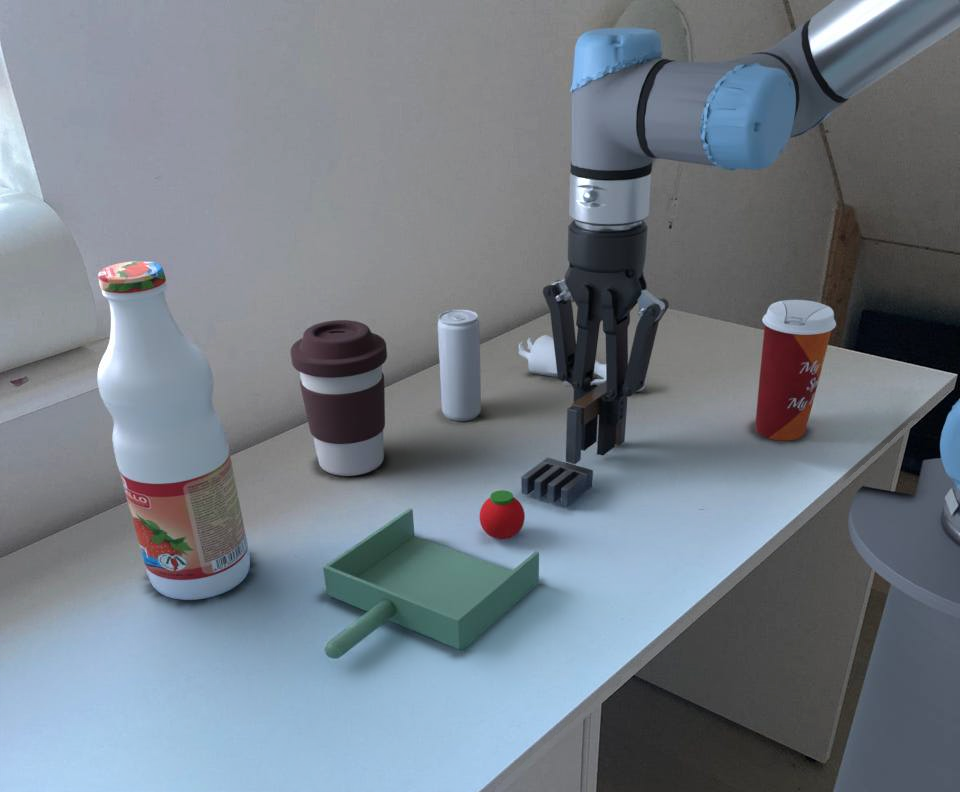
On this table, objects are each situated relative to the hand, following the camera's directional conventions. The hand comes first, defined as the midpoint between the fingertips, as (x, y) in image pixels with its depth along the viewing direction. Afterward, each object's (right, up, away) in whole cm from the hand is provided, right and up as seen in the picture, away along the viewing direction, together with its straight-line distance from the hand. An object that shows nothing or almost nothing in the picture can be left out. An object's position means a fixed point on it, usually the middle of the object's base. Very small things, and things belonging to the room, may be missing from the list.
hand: (596, 447), depth 107 cm
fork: (-2, -2, -1) cm, 3 cm away
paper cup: (+22, +3, +7) cm, 23 cm away
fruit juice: (-39, -15, -15) cm, 44 cm away
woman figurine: (0, +13, +20) cm, 24 cm away
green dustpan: (-19, -19, -20) cm, 34 cm away
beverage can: (-15, +6, +12) cm, 20 cm away
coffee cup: (-27, -1, +3) cm, 27 cm away
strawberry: (-11, -9, -12) cm, 19 cm away
